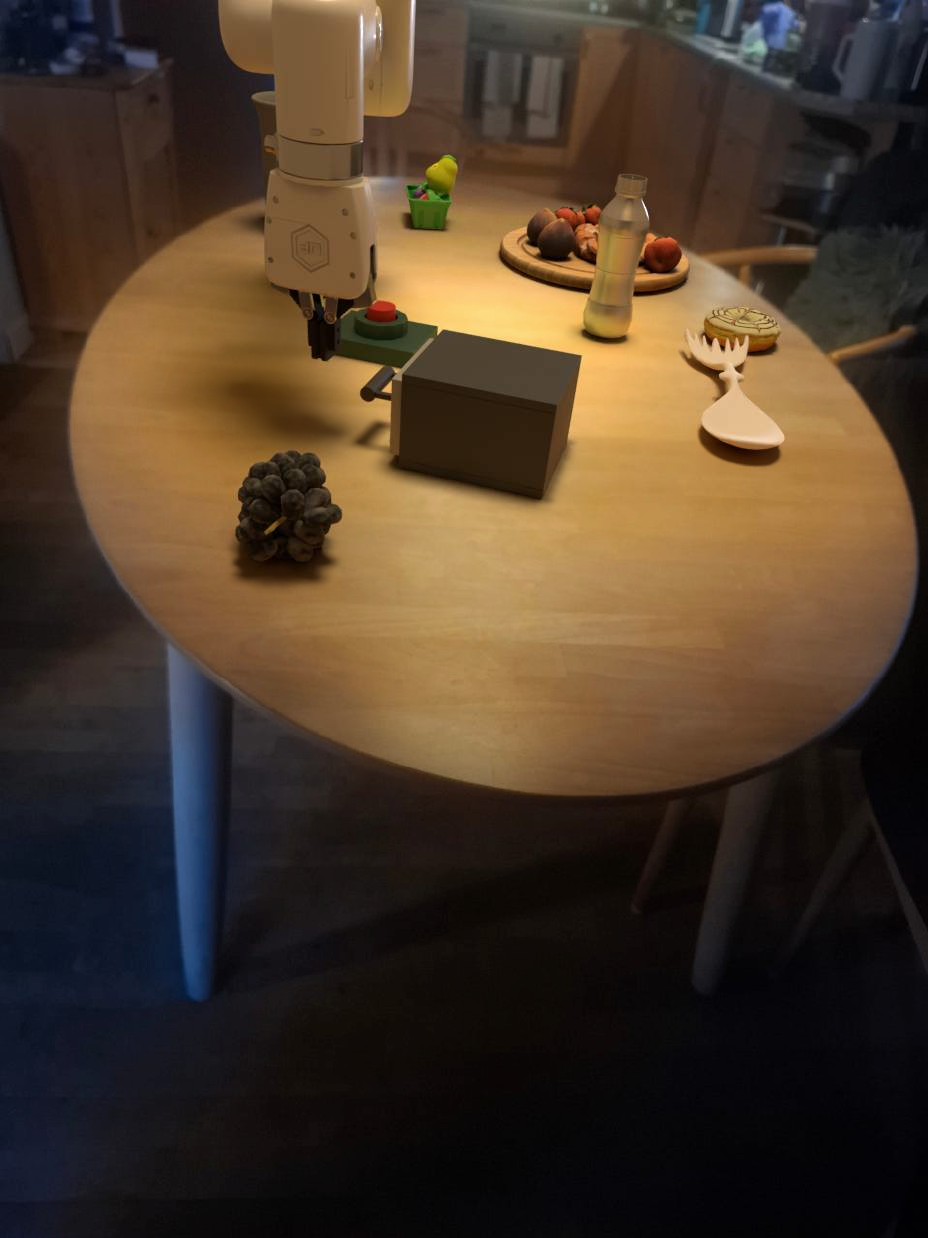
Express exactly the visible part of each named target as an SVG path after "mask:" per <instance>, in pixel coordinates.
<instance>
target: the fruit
mask: <svg viewBox="0 0 928 1238" xmlns="http://www.w3.org/2000/svg"><path fill="white" fill-rule="evenodd" d="M321 463H322V462H321V460H320V457H319V456H318V455H317V454H316V453H313V452H309V451H308V452H305V453H303V454H301V453H300V452H298V451H297V450H295V449H293V450H292V449H290V450H287V451H286V452H277V453H275V454H274V455H273V456H272V457H271V458H270V459H269V460H268V461H266V462H264V461H259V462H255V463H254V464H253V465H251V466H250V467H249V470H248V473H247V476H246V477H245V478H244V479H243V480H242V484H241V485H242V486H240V487H239V488H238V491H237V499H238V501H239V502H241V504H242V505H241V509H240V511H239V513H238V515H237V518H238V522H239V524H238V525H236V527H235V534H234V536H235V538H236V540H237V542H238V543H240V544H242V545H244V546H247V545H248V549H247V550H248V554H249V556H250V557H251V558H252V559H253V560H254V561H258V562H264V561H266V560H269V559H271V558H272V557H273V556H274V557H276V558H278V559H281V560H283V561H286V560H288V559H290V558H293V560H295V561H296V562H301V563H303V562H308V561H309V560H311V558H312V557H314V556H313V555H314V549H319V548H321V547H322V546H323V545H324V542H325V539H326V535H328V534H329V532H330V530H331V527H332V525H335V524H338V523H340V522H341V521H342V518H343V510H342V508H341V507H340V506H339V505H338V504H337V503H333V502H332V493H331V492H330V490H329V488H328V487H327V486H324V484H325V483H326V482H327V474H326V472H325V470H324V469H323V468H322V467H321Z"/></svg>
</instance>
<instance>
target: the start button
mask: <svg viewBox="0 0 928 1238" xmlns="http://www.w3.org/2000/svg"><path fill="white" fill-rule="evenodd" d="M396 310H397V306H396V304H394V303H393V302H391V301H388V300H387V301H386V300H377V301H376V303H375V304H374V305H372V306H371V307H370V308H367V319H368V320H370V321H375V322H392V321H395V320H396Z"/></svg>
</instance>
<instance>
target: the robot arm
mask: <svg viewBox="0 0 928 1238" xmlns="http://www.w3.org/2000/svg"><path fill="white" fill-rule="evenodd" d="M217 1H218V4H217V5H218V6H217V7H218V20H219V31H220V36H221V41H222V44H223V47H224V50H225V52H226V54H227V56H228V57H229V59H230V60H231V61H232V63H233V64H235V65H236V66H237V67H238V68H240V69H241V70H243V71H246V72H250V73H255V74H261V75H262V74H263V75H273V78H274V80H273V81H274V91H275V102H276V122H277V132H275V135H274V136H270V135H267V136H266V137H265V140H264V147H265V150H266V151H267V152H273V154H275V155H276V162H277V164H278V165H279V167H278V168H275V169H273V170H271V171H270V175H269V181H268V188H267V197H266V206H265V209H264V210H265V211H264V215H265V217H264V233H263V234H264V236H263V237H264V238H263V247H264V248H263V251H264V252H263V254H264V255H263V256H264V269H265V274H266V277H267V279H268V281H270V286H271V288H272V289H273V290H275V291H277V292H280V293H282V294H284V295H286V296H290V298H291V299H292V300H293V301H294V303H295V304H296V306H298V307H299V309H300V310H301V311H300V312H301V315H302V317H303V318H304V319H305V320H306V323H307V324H306V326H307V327H306V328H307V329H306V330H307V346H308V347H310V358H311V359H312V360H321V361H322V362H329V360H330V359H331V358H333V357H334V356H336V355H335V354H336V353H337V351H339V349H340V347H341V318H342V317H343V316H345V315H346V314H347V313H348V312H349V311H350V310H353V309H354V310H357V309H358V310H359V309H364V308H370V307H371V306H372V305H374V304H375V303H376V301H378V299H377V298H378V297H377V293H376V288H375V284H376V281H377V279H378V269H379V268H378V266H379V265H378V264H379V262H378V261H379V260H378V257H379V256H378V255H379V253H378V235H377V234H378V232H377V222H376V212H375V205H374V198H373V192H372V186H371V182H370V178H369V177H367V176H364V116H367V117H369V116H370V117H382V118H383V117H386V118H387V117H388V118H389V117H390V118H391V117H392V118H393V117H398V116H400V115H403V114H404V113H405V112H406V110H407V109H408V107H409V105H410V102H411V98H412V94H413V93H412V92H413V83H414V82H413V81H414V62H415V61H414V60H415V59H414V58H415V35H416V34H415V33H416V9H417V0H217ZM324 297H325V303H324Z"/></svg>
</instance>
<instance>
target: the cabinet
mask: <svg viewBox="0 0 928 1238" xmlns="http://www.w3.org/2000/svg"><path fill="white" fill-rule="evenodd" d="M582 357H583V355H582V354H577V353H572V352H566V351H562V350H561V351H560V350H556V349H549V348H545V347H539V346H534V345H528V344H524V343H519V342H513V341H507V340H502V339H497V338H492V337H486V336H481V335H476V334H470V333H465V332H459V331H454V330H449V329H441V330H440V332H439V333H438V334H437V337H436V338H435V339H434V340H433V341H432V342H431V343H430V344H429V345H428V346H427V347H426V348H425V350H424V351H423V352H422V353H421V354H420V355H419V356H418V357H417V358H416V359H415V360H414V362H413V363H412V364H411V365H410V366H409V367H408V368H407V369H406V370H405V371H404V372H403V374H402V389H401V415H400V441H399V456H398V465H397V466H398V468H400V469H404V470H409V471H414V472H419V473H423V474H427V475H432V476H435V477H436V476H437V477H442V478H445V479H451V480H455V481H458V482H464V483H469V484H473V485H477V486H483V487H486V488H492V489H496V490H500V491H504V492H505V491H506V492H510V493H515V494H519V495H522V496H527V497H531V498H537V499H541V500H542V499H543V498H544V495H545V493H546V491H547V488H548V487H549V484H550V482H551V480H552V478H553V475H554V473H555V472H556V471H555V470H556V468H557V466H558V464H559V461H560V460H561V458H562V455H563V453H564V451H565V449H566V446H567V443H568V439H569V433H570V428H571V422H572V416H573V411H574V403H575V398H576V393H577V386H578V381H579V374H580V369H581V364H582Z"/></svg>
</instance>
